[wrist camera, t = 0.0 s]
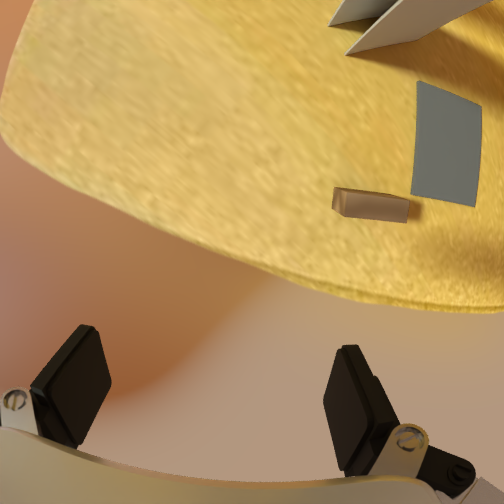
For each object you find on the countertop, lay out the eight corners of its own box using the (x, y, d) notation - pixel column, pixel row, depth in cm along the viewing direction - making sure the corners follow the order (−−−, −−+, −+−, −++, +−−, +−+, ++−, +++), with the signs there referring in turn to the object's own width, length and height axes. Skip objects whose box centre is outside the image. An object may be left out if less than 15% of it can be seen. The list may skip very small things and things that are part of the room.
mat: (416, 81, 33) (419, 80, 32) (478, 106, 33) (481, 106, 33) (410, 194, 39) (412, 195, 38) (471, 206, 39) (474, 207, 38)
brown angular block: (333, 187, 39) (347, 192, 33) (390, 194, 39) (409, 200, 33) (331, 208, 40) (344, 216, 34) (387, 214, 40) (406, 223, 34)
